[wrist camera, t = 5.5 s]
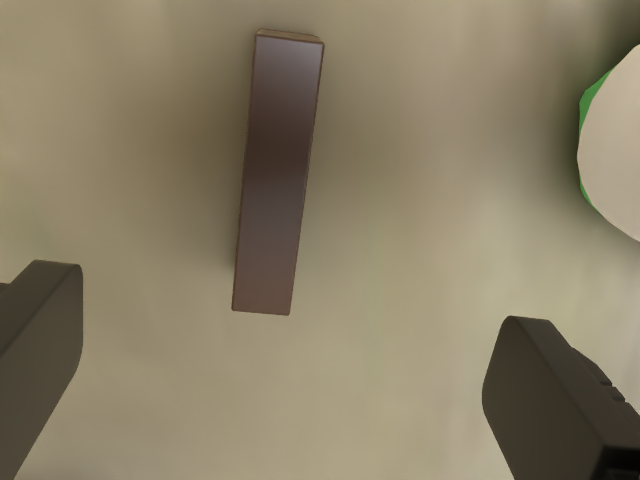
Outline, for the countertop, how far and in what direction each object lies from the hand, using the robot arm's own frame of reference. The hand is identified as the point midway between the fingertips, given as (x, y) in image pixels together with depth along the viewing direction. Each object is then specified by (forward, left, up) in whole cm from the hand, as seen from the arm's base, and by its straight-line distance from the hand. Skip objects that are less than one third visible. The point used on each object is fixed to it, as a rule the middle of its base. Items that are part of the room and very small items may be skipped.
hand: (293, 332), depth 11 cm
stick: (-1, 0, -11) cm, 11 cm away
